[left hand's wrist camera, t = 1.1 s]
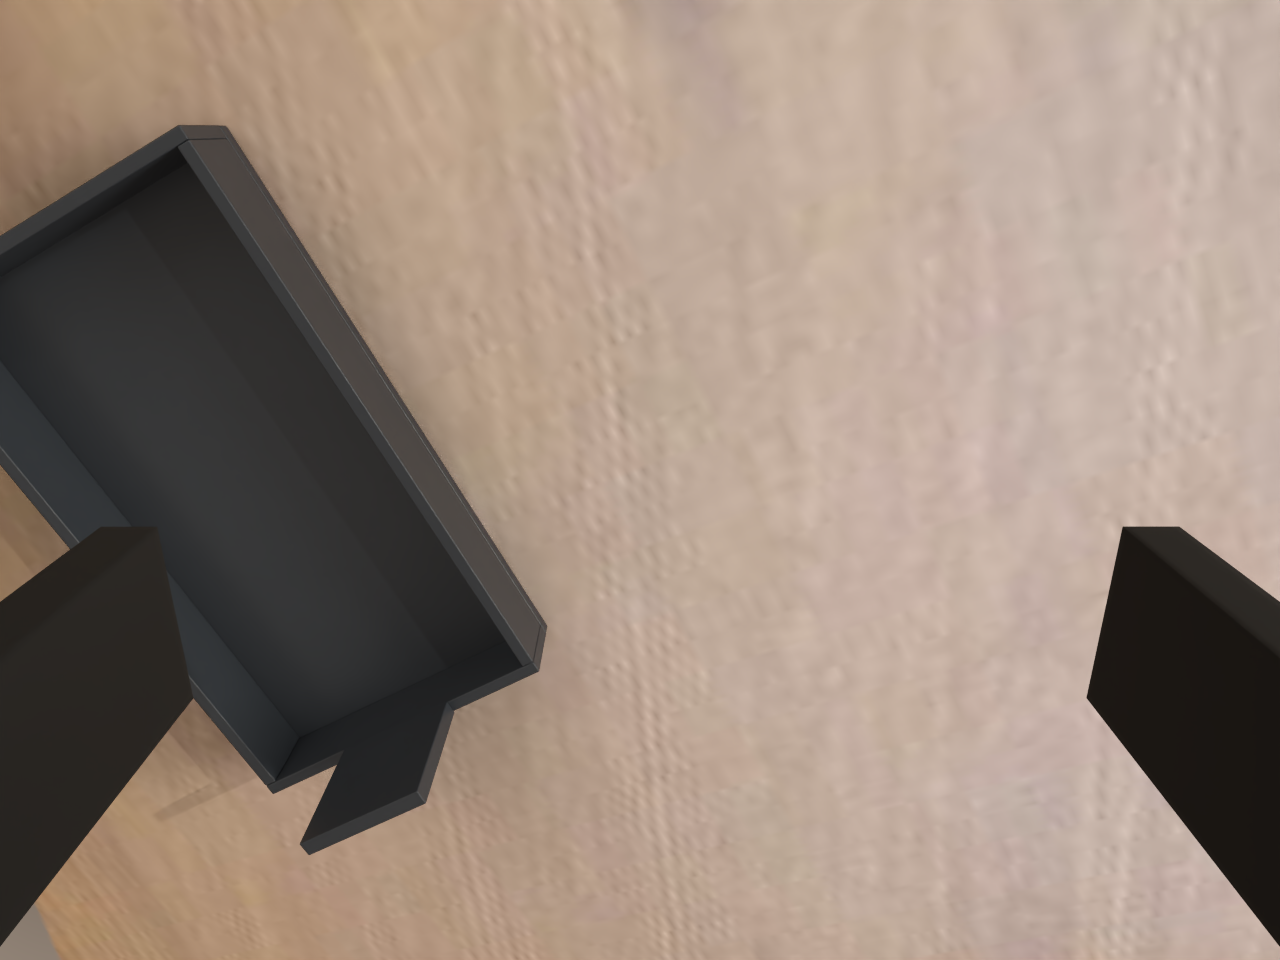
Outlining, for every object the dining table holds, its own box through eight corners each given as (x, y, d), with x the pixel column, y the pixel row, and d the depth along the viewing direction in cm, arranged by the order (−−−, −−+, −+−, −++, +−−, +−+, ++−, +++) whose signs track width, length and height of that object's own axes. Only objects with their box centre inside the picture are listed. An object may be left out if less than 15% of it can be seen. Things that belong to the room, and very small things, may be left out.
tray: (-52, 295, 35) (-273, 349, 26) (226, 124, 32) (82, 123, 24) (302, 742, 42) (218, 895, 33) (548, 626, 40) (524, 759, 31)
